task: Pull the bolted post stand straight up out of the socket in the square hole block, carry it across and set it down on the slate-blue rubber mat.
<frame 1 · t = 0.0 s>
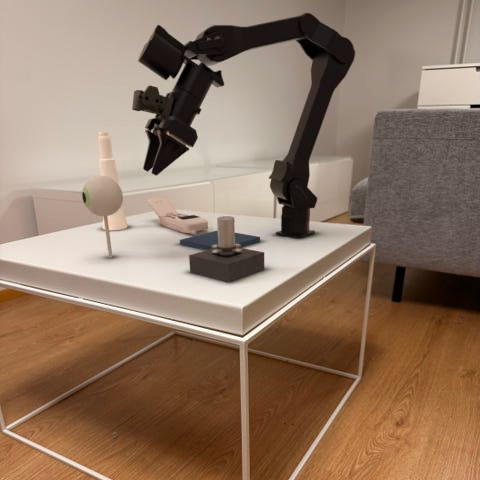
hand: (149, 172, 89), 15 cm above the table, tool tilted 35°, fingers open, 9 cm apart
mobile phone: (178, 227, 115), on the table
eyeball on stick: (110, 258, 89), on the table
mat: (220, 242, 98), on the table
square hole block: (227, 270, 79), on the table
bolted post stand: (226, 244, 78), in the square hole block
cosmetic bottle: (115, 228, 115), on the table
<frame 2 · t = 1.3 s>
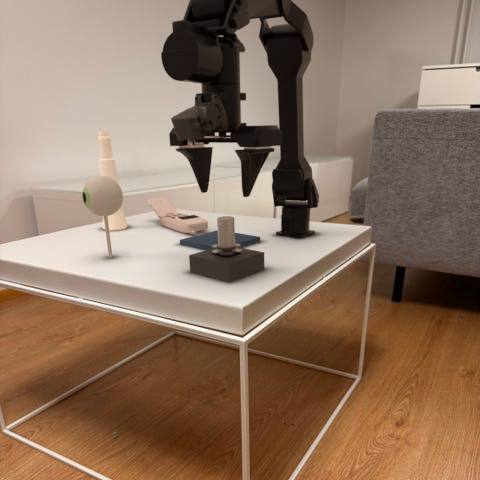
hand: (224, 194, 75), 13 cm above the table, tool pointing down, fingers open, 9 cm apart
nothing on the table moved.
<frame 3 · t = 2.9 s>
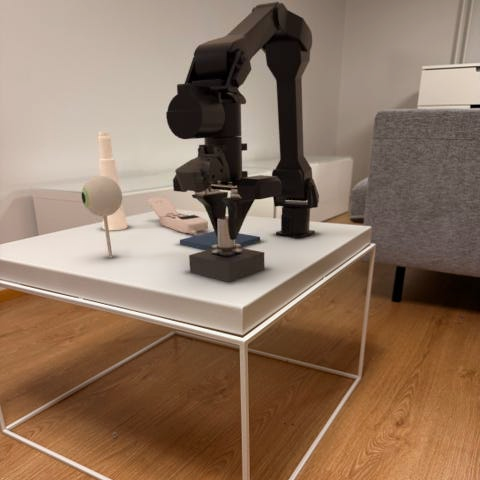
hand: (226, 238, 77), 6 cm above the table, tool pointing down, fingers closed on bolted post stand, 3 cm apart
bolted post stand: (226, 244, 78), in the square hole block, touching gripper
everything else where it was.
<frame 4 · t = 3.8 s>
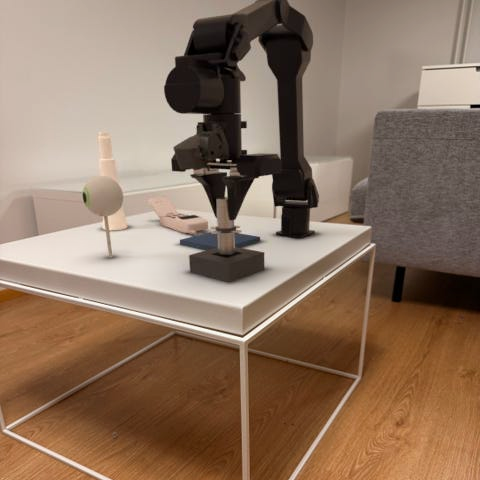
hand: (225, 219, 76), 9 cm above the table, tool pointing down, fingers closed on bolted post stand, 3 cm apart
bolted post stand: (225, 226, 76), point 8 cm above the table, touching gripper
everything else where it was.
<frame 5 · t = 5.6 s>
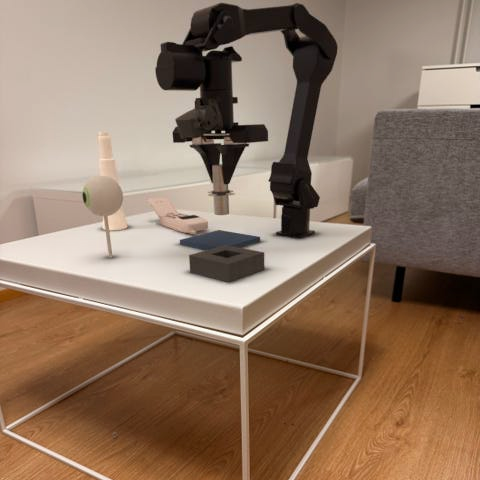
hand: (220, 183, 87), 13 cm above the table, tool pointing down, fingers closed on bolted post stand, 3 cm apart
bolted post stand: (220, 189, 88), point 12 cm above the table, touching gripper
everything else where it was.
when the fingers open (7 cm above the table, at t = 7.9 s): bolted post stand stays where it is, resting on mat.
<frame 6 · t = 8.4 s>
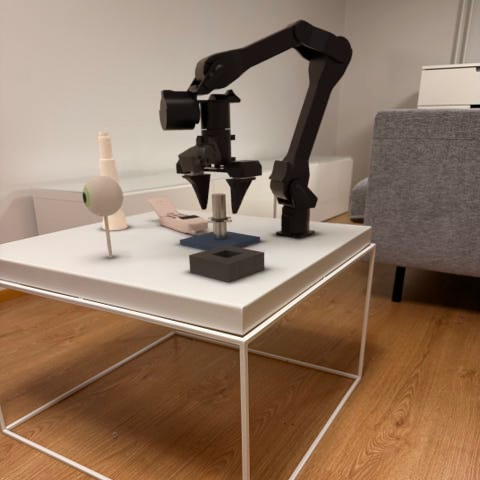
hand: (219, 211, 96), 7 cm above the table, tool pointing down, fingers open, 8 cm apart
bolted post stand: (219, 216, 96), on the mat, point 6 cm above the table
everything else where it was.
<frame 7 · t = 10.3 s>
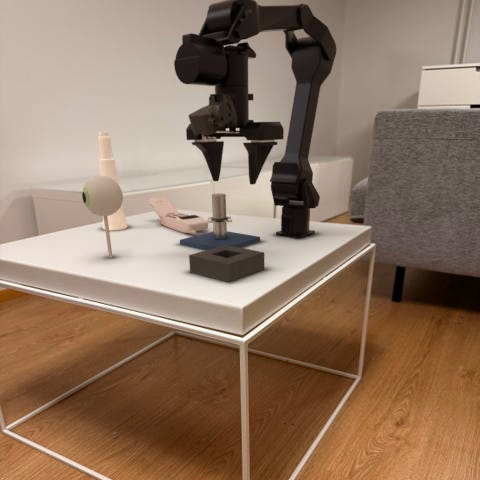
hand: (233, 182, 85), 13 cm above the table, tool pointing down, fingers open, 9 cm apart
nothing on the table moved.
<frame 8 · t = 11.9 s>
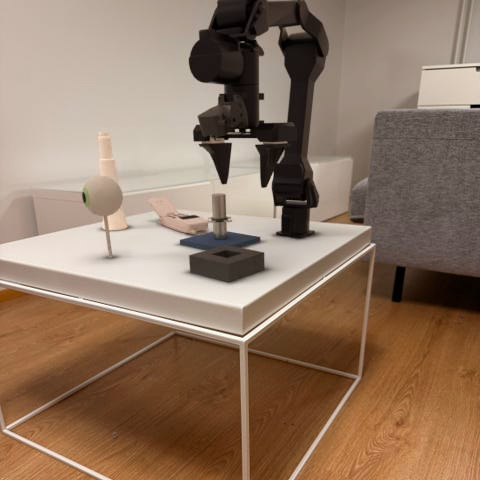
hand: (243, 185, 82), 13 cm above the table, tool pointing down, fingers open, 9 cm apart
nothing on the table moved.
at the end: bolted post stand inside the target area on the mat (0.1 cm from its centre), point 5.5 cm above the mat's base; bolted post stand touching mat; the gripper is holding nothing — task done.
